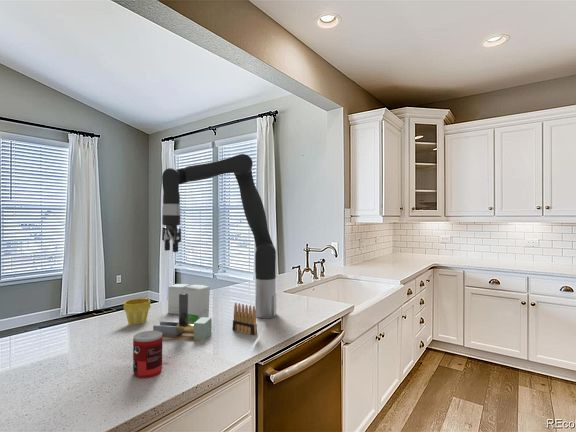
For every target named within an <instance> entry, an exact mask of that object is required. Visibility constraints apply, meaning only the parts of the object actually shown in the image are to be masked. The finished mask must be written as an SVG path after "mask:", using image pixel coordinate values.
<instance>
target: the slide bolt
mask: <svg viewBox="0 0 576 432" xmlns="http://www.w3.org/2000/svg"><path fill="white" fill-rule="evenodd" d="M178 322H179V323H178V324H177V333H187V334H194V323H193V324H192V323H189V321H188V293H181V294H179V314H178Z"/></svg>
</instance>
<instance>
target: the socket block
mask: <svg viewBox="0 0 576 432" xmlns="http://www.w3.org/2000/svg"><path fill="white" fill-rule="evenodd" d="M193 324H194V340H204V341H205V340H206V339H207V338H209V336H210V335H212V333H211V332H212V317H209V318H208V317H201V318H200V319H198V320H197V321H196V322H193Z"/></svg>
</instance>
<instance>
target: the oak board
mask: <svg viewBox="0 0 576 432" xmlns="http://www.w3.org/2000/svg"><path fill="white" fill-rule="evenodd" d="M211 334H213V331H211ZM162 341H179V342H183V341H184V342H196V343H203V342H204V341H205V340H194V334H187V333H182V334H181V335H179V336H178V337H177V338H170V337H162Z"/></svg>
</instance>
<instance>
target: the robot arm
mask: <svg viewBox="0 0 576 432" xmlns="http://www.w3.org/2000/svg"><path fill="white" fill-rule="evenodd" d="M253 164H254V163H253V160H252V158H251V157H250V155H248V154H246V153H239V154H237V155H234V156H231V157H228V158H224V159H220V160H216V161H212V162H205V163H197V164H193V165H188V166H186V167H184V168H178V169H176V168H172V167H169V168H166V169H164V171H163V172H162V175H161V176H162V177H161V179H162V183H161V184H162V190H163V193H162V196H163V197H162V210H161V211H162V212H161V213H162V216H161V217H162V218H161V220H162V221H161V224H162V225H163V227H162V228H161V229H162V230H161V231H162V233H161V236H162V237H161V240H162V241H163V243H164V251H170V250H171V242H172V253H178V252H179V243H181V242H182V228H181V227H178V226H180V225H181V196H180V192H179V189H180V188H179V187H180V185H182V184H186V183H189V182H192V183H193V182H198V181H203V180H204V181H205V180H207V179H211V178H214V177H218V176H220V175H223V174H224V175H225V174H233V175H234V177H235V179H236V182H237V185H238V188H239V193H240V198H241V199H240V200H241V204H242V209H243V212H244V215H245V219H246V221H247V224H248V225H249V229H250V231H251V232H252V234H253V235H252V236H253V240H254V244H255V256H254V258H255V259H254V260H255V261H254V262H255V263H254V265H255V269H254V271H255V272H254V273H255V305H254V306H255V313H256V318H260V319H270V318H272V319H274V318H276V315H277V293H276V292H277V291H276V290H277V289H276V287H277V286H276V285H277V283H276V278H277V266H276V265H277V250H276V248H275V246H274V243H273V241H272V237H271V235H270V233H269V227H268V220H267V215H266V211H265V207H264V204H263V200H262V198H261V195H260V193H259V191H258V189H257V187H256V185H255V184H256V183H255V181H254V177H253V171H252V168H253Z"/></svg>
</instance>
